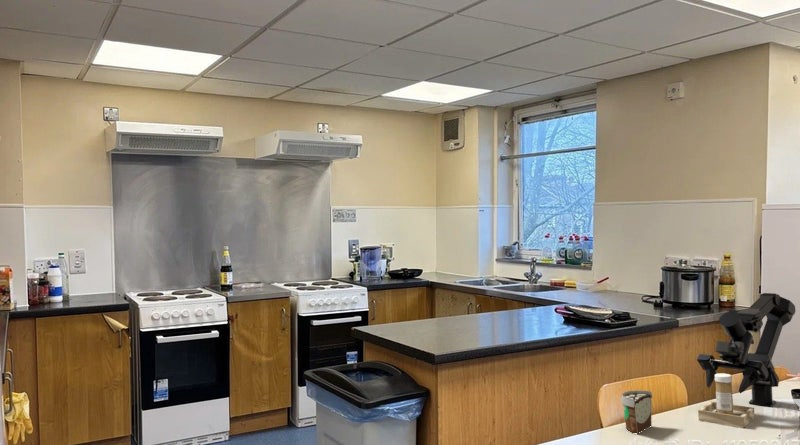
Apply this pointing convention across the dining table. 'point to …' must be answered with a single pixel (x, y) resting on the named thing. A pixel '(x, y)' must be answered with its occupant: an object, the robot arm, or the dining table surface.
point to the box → (727, 415)
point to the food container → (637, 410)
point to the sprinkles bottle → (724, 393)
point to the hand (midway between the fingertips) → (723, 389)
